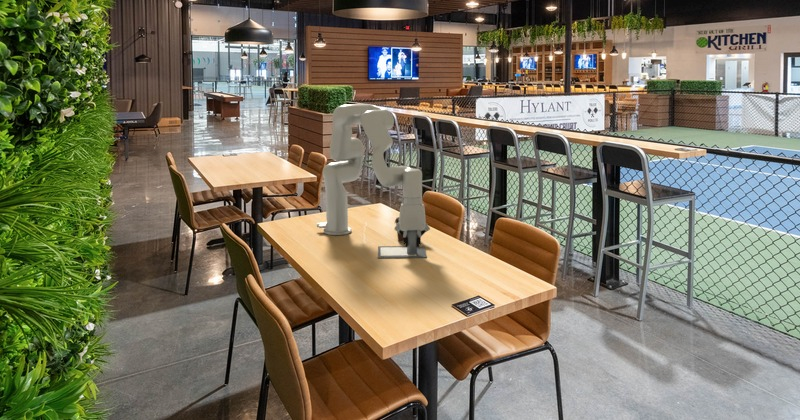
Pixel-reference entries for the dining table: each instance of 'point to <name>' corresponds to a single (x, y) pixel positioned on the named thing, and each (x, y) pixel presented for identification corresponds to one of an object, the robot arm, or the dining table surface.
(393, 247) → the mat
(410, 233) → the marker
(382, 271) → the dining table surface
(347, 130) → the robot arm
